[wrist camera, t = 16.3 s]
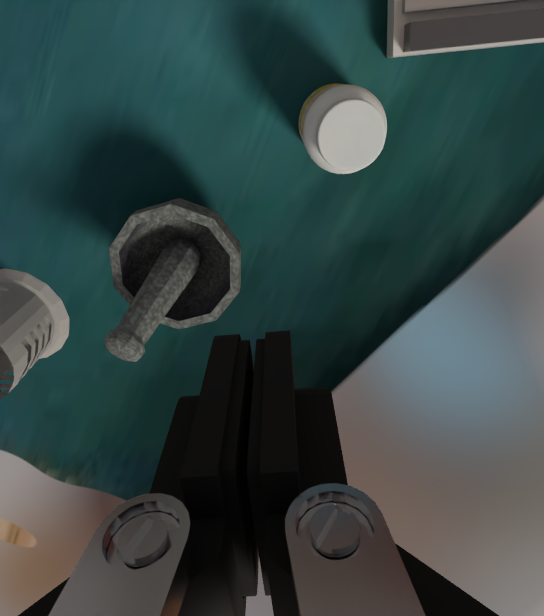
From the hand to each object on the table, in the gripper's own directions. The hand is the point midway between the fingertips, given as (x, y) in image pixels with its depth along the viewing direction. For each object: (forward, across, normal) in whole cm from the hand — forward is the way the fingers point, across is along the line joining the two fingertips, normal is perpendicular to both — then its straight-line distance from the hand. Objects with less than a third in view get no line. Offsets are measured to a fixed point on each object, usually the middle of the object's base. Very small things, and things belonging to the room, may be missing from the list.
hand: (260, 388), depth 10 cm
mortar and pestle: (+29, +8, +6) cm, 31 cm away
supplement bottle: (+29, -5, -3) cm, 30 cm away
